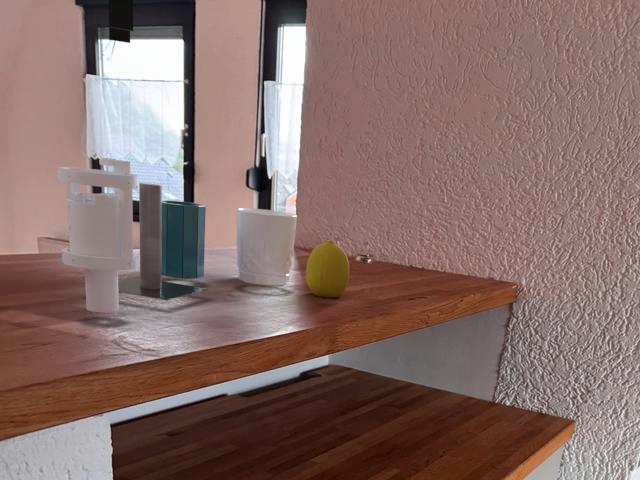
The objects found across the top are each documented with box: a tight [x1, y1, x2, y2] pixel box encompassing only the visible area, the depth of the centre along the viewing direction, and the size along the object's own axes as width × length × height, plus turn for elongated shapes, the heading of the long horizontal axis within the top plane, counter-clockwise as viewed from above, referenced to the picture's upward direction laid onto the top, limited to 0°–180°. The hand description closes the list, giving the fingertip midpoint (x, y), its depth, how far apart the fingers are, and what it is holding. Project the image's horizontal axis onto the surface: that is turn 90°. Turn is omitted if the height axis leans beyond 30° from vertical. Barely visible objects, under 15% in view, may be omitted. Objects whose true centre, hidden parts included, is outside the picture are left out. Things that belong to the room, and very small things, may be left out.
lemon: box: [305, 239, 350, 299], centre depth 93 cm, size 6×6×8 cm
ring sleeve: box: [161, 199, 207, 279], centre depth 95 cm, size 6×6×10 cm
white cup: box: [236, 207, 298, 287], centre depth 98 cm, size 8×8×10 cm
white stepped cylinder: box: [57, 157, 140, 314], centre depth 70 cm, size 7×7×15 cm
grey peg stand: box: [118, 182, 209, 301], centre depth 83 cm, size 10×10×12 cm
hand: (120, 35), depth 94 cm, fingers open, 13 cm apart
